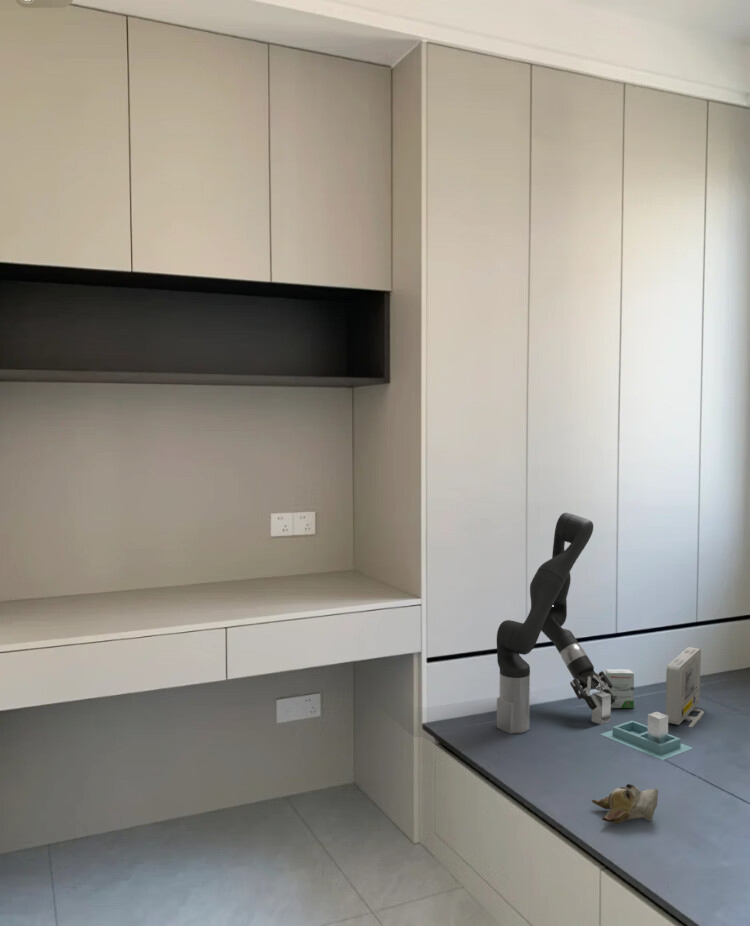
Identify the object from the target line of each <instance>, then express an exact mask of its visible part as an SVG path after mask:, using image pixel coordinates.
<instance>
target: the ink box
mask: <svg viewBox="0 0 750 926" xmlns="http://www.w3.org/2000/svg"><path fill="white" fill-rule="evenodd" d="M605 675H606V677H607V678H608V680H609V681H610V682H611V684H612V685H613V687H612V688H611V689H610V692H611V693H612V695H613V697H614V698H615V702H614V703H613V704H611V709H634V708H635V704H634V702H635V698H634V697H635V691H634V689H635V688H634V687H635V681H634V680H635V674H634V672H633V671H632V669H628V668H627V669H626V668H625V669H617V668H615V669H614V668H612V669H611V668H610V669H609V668H606V669H605ZM606 685H607V686H608V684H607V683H606Z"/></svg>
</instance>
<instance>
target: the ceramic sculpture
mask: <svg viewBox="0 0 750 926" xmlns="http://www.w3.org/2000/svg"><path fill="white" fill-rule="evenodd" d="M658 796H659V790H658V789H657V788H654V789H649V788H648V789H645V790H642V791H641V790H640V789H639V788H638V787H637V786H635V785H634V784H630V783H627V784H626V786H625V787H622V786H621V787H616V788H614V789H613V790H612V791H611V792H610V793H609V796H606V797H604V798H601V799H600V800H597V799H591V802H592V803H593V804H594V805H597V806H598V807H600V808H602V809H604V810H609V811H607V813H606V814H605V816H603V817H602V818H601V820H602V821H604V822H608V823H612V824H619V823H620V824H621V823H622V822H625V821H630V820H634V819H639V818H644V819H645V820H646V821H652V820H653V818H654V814H655V810H656V808H657V806H658V799H659V798H658Z"/></svg>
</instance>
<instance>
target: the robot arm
mask: <svg viewBox="0 0 750 926" xmlns="http://www.w3.org/2000/svg"><path fill="white" fill-rule="evenodd" d="M555 524H556V525H555V527H554V528H555V530H554V535H553V545H552V556H551V558H550V559H548V560H546V561H545V562H543V563H542V564H541V565H540V566H539V567H538V569H537V571H536V572H535V574H534V575H533V578H532V580H531V582H530V584H529V596H530V597H529V598H530V610H529V613H528V615H527V617H526V618H525V621H524V622H519V621H515V620H512V619H511V620H510V619H507V620H503V621H502V622H501V623H500V624H499V626H498V629H497V632H496V654H497V657H496V658H497V659H496V660H497V665H498V668H499V697H496V728H497V729H499V730H501V731H503V732H505V733H508V734H510V735H511V734H523V733H527V732H528V731H530V710H531V709H530V706H531V705H530V699H531V698H530V695H531V694H530V693H531V692H530V691H531V684H530V683H531V667H530V666H531V665H530V664H529V663H528V662H527V661H526V660H525V659H524V658H523V657H522V656H521V655H523V656H525V655H528V654H530V653H531V652H532V651H533V649H534V648H535V646H536V643H537V642H538V639H539V637H540V634H541V632H542V633H543V634H544V635H545V636H546V637H547V638H548V639H549V640H550V642H552V644H554V646H555V648H556V650H557V651H558V653H559V655H560V657H561V659H562V661H563V664H564V665H565V667H566V668H567V670H568V671H569V673H570V675H571V677H572V678H573V679H572V680H570V682H569V685H570V686H571V687H572V689H573V692H574V693H575V696H576V697H577V699H579V700H581V699H582V700H584V701H585V702H586V704H587V705H588V708H589V709H591V711H592V710H594V709H595V708H596V707H597V705H596V703H595V702H594V700H593V698H592V695H591V691H592V690H597V691H603V692H605V693H608V694H611V704H613V703H614V702H615V698H614V697H613V695H612V693H611V692H610V689H611V688H612V687H613V685H612V684H611V682H610V681H609V680H608V678H607V677H606V673H605V672H604V671H603V670H601V671H599V673H597V672H595V666H594V664H593V663H592V662H591V660H590V658H589V656H588V655H587V653H586V651H585V649H584V648H583V647H582V646H581V644H580V643H579V642H578V640H577V639H576V637H575V635H574V633H573V632H572V631H571V630H570V629H567V628H563V627H562V626H563V625H564V624H565V622H566V620H567V617H568V613H567V611H568V609H567V608H568V605H567V603H568V601H567V598H568V594H569V589H570V587H571V581H572V578H571V577H572V576H571V570H572V569H573V567H574V565H575V564H576V562H577V560H578V558H579V557H580V555H581V554H582V552H583V551H584V549H585V548H586V546H587V544H588V543H589V540H590V539H591V537H592V535H593V532H594V523H593V521H592V520H590V519H588V518H586V517H582V516H579V515H576V514H573V513H569V512H563V513H561V515H559V518H558V519H557V520H556V523H555ZM566 542H567V543H568V544H569V545H568V547H566V548H565V545H566ZM552 605H554V607H552ZM606 683H607V684H608V686H607V685H606Z"/></svg>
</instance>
